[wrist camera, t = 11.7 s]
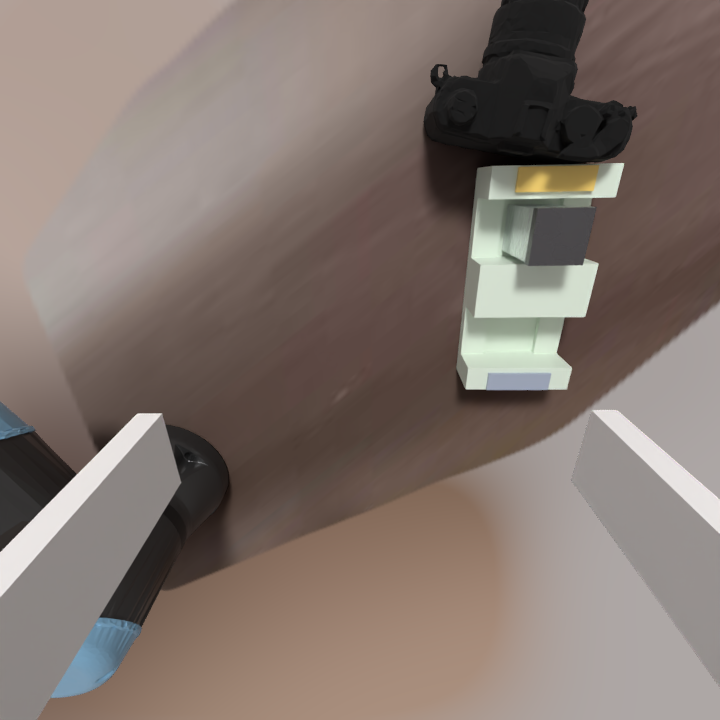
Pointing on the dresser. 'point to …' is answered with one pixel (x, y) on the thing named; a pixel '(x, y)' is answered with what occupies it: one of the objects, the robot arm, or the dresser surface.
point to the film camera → (529, 92)
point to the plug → (548, 233)
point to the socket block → (523, 280)
